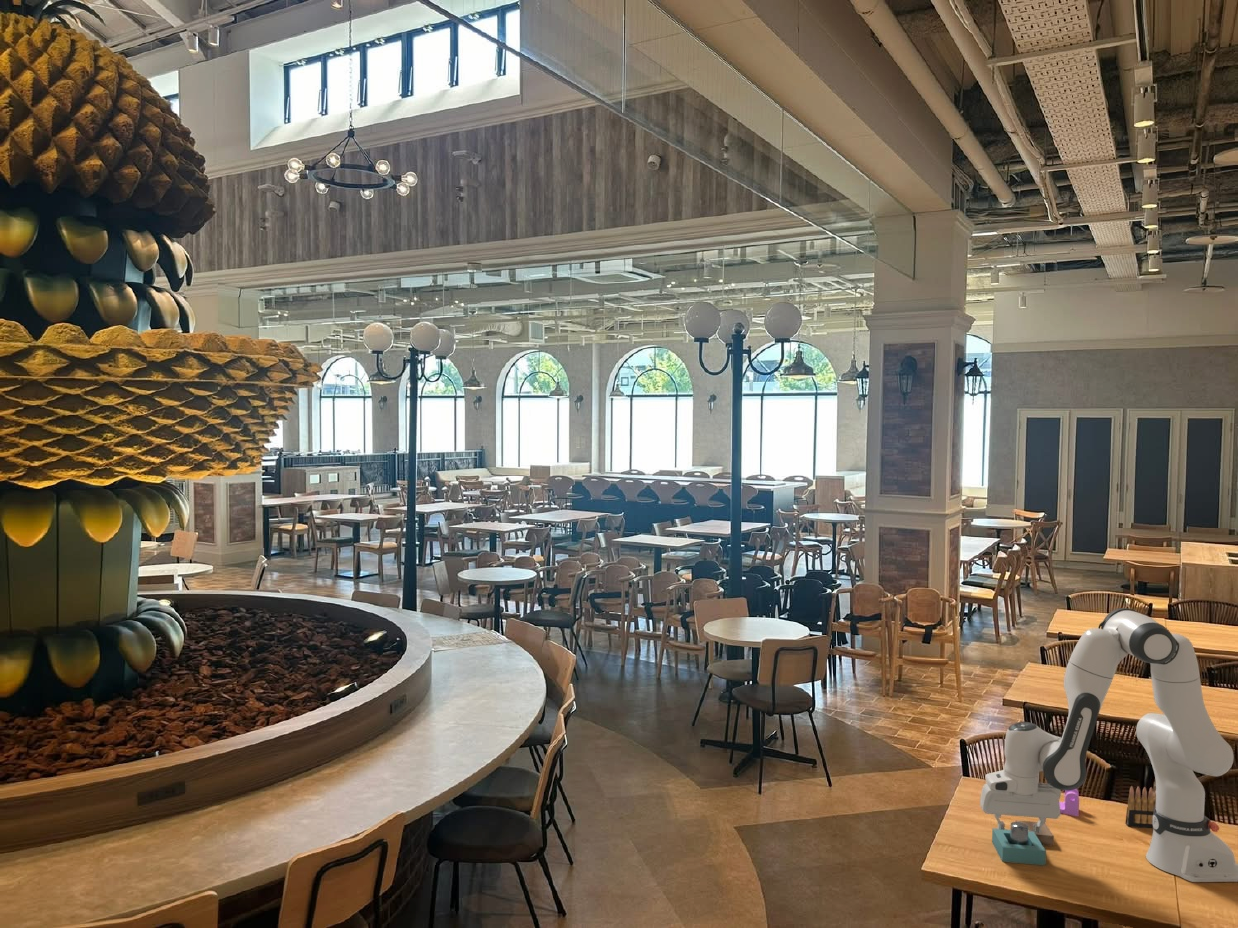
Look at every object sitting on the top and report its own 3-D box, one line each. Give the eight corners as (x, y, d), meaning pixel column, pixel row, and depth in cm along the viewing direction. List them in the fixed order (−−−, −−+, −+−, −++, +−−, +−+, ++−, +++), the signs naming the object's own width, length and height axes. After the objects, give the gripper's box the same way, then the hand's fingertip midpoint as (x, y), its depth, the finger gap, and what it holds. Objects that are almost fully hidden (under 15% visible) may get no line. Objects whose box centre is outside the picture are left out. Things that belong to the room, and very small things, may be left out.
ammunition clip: (1164, 826, 260) (1165, 786, 260) (1166, 829, 258) (1168, 789, 258) (1125, 823, 262) (1127, 784, 261) (1128, 826, 260) (1129, 787, 259)
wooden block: (1044, 832, 256) (1044, 822, 256) (1053, 845, 248) (1053, 835, 248) (1015, 830, 257) (1015, 820, 257) (1023, 843, 249) (1023, 833, 249)
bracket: (1077, 809, 271) (1078, 787, 271) (1078, 816, 266) (1079, 794, 266) (1031, 800, 277) (1032, 779, 276) (1031, 807, 272) (1031, 786, 271)
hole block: (1033, 845, 248) (1033, 831, 248) (1045, 865, 237) (1045, 850, 237) (991, 841, 250) (992, 828, 250) (1002, 861, 239) (1002, 847, 239)
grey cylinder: (1024, 850, 246) (1025, 822, 245) (1029, 858, 241) (1030, 829, 241) (1007, 848, 246) (1008, 820, 246) (1012, 856, 242) (1013, 828, 241)
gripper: (1057, 779, 244) (1055, 827, 245) (979, 773, 247) (977, 821, 248) (1065, 789, 238) (1063, 838, 239) (985, 783, 241) (983, 832, 242)
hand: (1019, 830), depth 243 cm, fingers open, 8 cm apart
